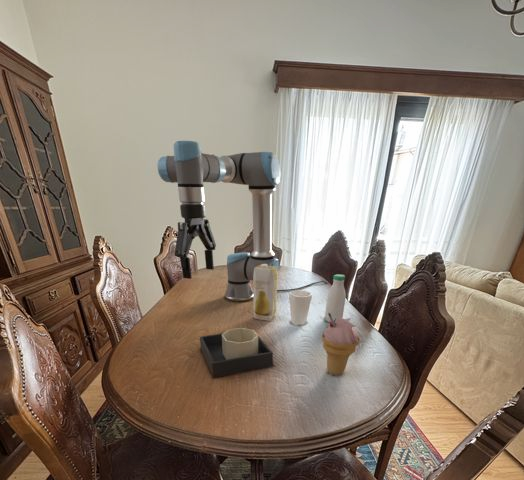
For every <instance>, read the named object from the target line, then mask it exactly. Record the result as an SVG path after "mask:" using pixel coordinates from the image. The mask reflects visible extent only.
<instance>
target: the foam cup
mask: <svg viewBox="0 0 524 480" xmlns="http://www.w3.org/2000/svg"><path fill="white" fill-rule="evenodd" d="M288 298H289V308H290V321H291V324H293V325H295V326H303V325H305V324H307V319H308V315H309V311H310V307H311V302H312V300H313V299H312V298H313V293H312V292H310V291H308V290H302V289H297V290H290V292H289V296H288Z"/></svg>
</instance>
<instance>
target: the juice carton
mask: <svg viewBox="0 0 524 480" xmlns="http://www.w3.org/2000/svg"><path fill="white" fill-rule="evenodd" d="M252 282H253V283H252V284H253V288H252V291H253V299H252V301H253V303H252V304H253V317H254V320H255V319H256V320H260V321H261V320H262V321H267V322H271V321H272V320H273V319H274V318H275V317H276V313H277V297H278V291H277V290H278V273H277V268H276V266H267V264H262V265H259V266H257V267H255V268H254V275H253V280H252Z"/></svg>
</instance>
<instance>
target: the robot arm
mask: <svg viewBox="0 0 524 480" xmlns="http://www.w3.org/2000/svg"><path fill="white" fill-rule="evenodd" d="M157 173H158V175H159V177H160V179H161V180H163V181H164V182H165V183H172V184H176V183H177V188H178V189H177V190H178V199H179V202H180V203H181V204H180V205H179V206H180V207H179V209H180V215H181V216H180V217H181V218H183V219H184V222H181V221H179V222H177V236H176V242H175V248H174V257H176V258H179V259H180V267H181V271H182V278H183V279H188V280H191V279H192V269H191V268H192V267H191V259H190V257H189V256H188V255H189V252H190V250H191V247H192V245H193V244H192V243H193V240H194V239H195V238H196V237H198V238H199V240H200V242H201V243H202V244H203V246H204V248H205V249H204V260H205V270H210V271H211V270H214V269H215V268H214V253H213V252H214V251H215V250H216V248H217V244H216V240H215V237H214V235H213V232H212V229H211V226H210V219H208V218H207V219H205V218H206V217H207V213H206V205H205V204H204V203H206V198H205V187H204V183H211V184H215V183H220V182H222V183H225V184H227V183H228V184H229V183H230V184H236V185H244V186H248V191H249V192H250V193H251V196H252V197H251V198H252V234H253V235H252V238H253V239H252V240H253V250H252V252H251V253H250V252H248V251H243V252H242V251H241V252H236V253H235V252H234V253H231V254H229V255H227V257H226V269H227V286H226V290H225V294H224V296H225V299H226V300H227V301H229V302H235V303H236V302H237V303H243V302H248V301H251V300H253V288H252V285H251V281H253V275H254V268H255V267H257V266H259V265H262V264H267V266H276V268H277V274H279V273H278V272H279V267H280V262H279V259H278V258H276V257H275V252H274V251H273V250H272V239H273V237H272V236H273V235H272V233H273V232H272V230H273V229H272V226H273V225H272V223H273V222H272V221H273V219H272V218H273V215H272V213H273V208H272V207H273V205H272V204H273V202H272V200H273V198H272V197H273V193H274V192H275V191H276V186H278V185H279V184H280V182H281V180H280V179H281V166H280V161H279V158H278V157H277V155H276V154H275V153H274V152H271V151H258V152H257V151H255V152H239V153H235V154H229V155H221V156H217V155H215V154H209V153H203V152H202V149H201V144H200V143H199V142H197V141H193V140H178V141H177V140H176V141H175V142H174V143H173V155H166V156H160V158H159V159H158V160H157ZM319 283H324V284H328V283H327V282H326V281H324V280H320V281H316V282H315V281H314V282H311V283H309V284H307V285H303V286H301V287H296V288H289V289H277V292H289V291H290V292H291V291H295V290H302V289H304V288H307V287H309V286H312V285H315V284H319Z"/></svg>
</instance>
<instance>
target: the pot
mask: <svg viewBox="0 0 524 480" xmlns="http://www.w3.org/2000/svg"><path fill="white" fill-rule="evenodd" d="M251 329H252V328H245V327H237V328H230V329H227V330H226V331H224V332H223V334H222V349H223V355H224V359H225V360H228V359H233V358H239V357H245V356H250V355H256V354H258V336H259V335H258V333H257V332H256V331H255V330H254V329H253V330H251Z"/></svg>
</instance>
